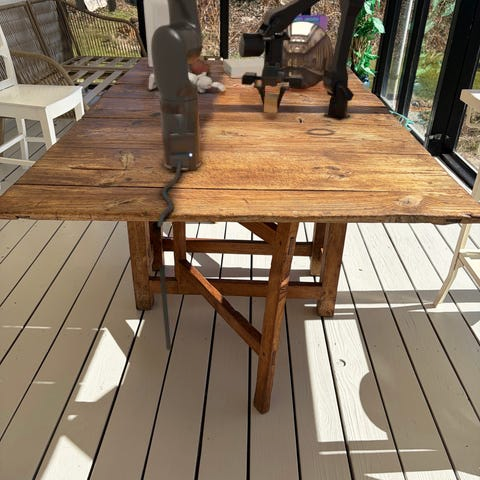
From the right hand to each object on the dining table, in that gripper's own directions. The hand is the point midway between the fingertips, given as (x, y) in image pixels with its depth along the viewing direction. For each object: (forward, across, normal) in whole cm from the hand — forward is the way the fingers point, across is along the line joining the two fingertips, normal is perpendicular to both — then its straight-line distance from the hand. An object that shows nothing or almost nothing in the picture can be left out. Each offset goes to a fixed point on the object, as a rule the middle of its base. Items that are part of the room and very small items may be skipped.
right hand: (271, 107), depth 153 cm
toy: (+4, -36, +30) cm, 47 cm away
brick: (+1, 0, 0) cm, 1 cm away
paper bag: (+4, -60, +79) cm, 99 cm away
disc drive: (+4, -18, +68) cm, 71 cm away
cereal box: (+4, +4, +73) cm, 74 cm away
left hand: (-29, -45, -23) cm, 58 cm away
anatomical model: (+4, -40, +60) cm, 72 cm away
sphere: (+4, +5, +45) cm, 45 cm away
